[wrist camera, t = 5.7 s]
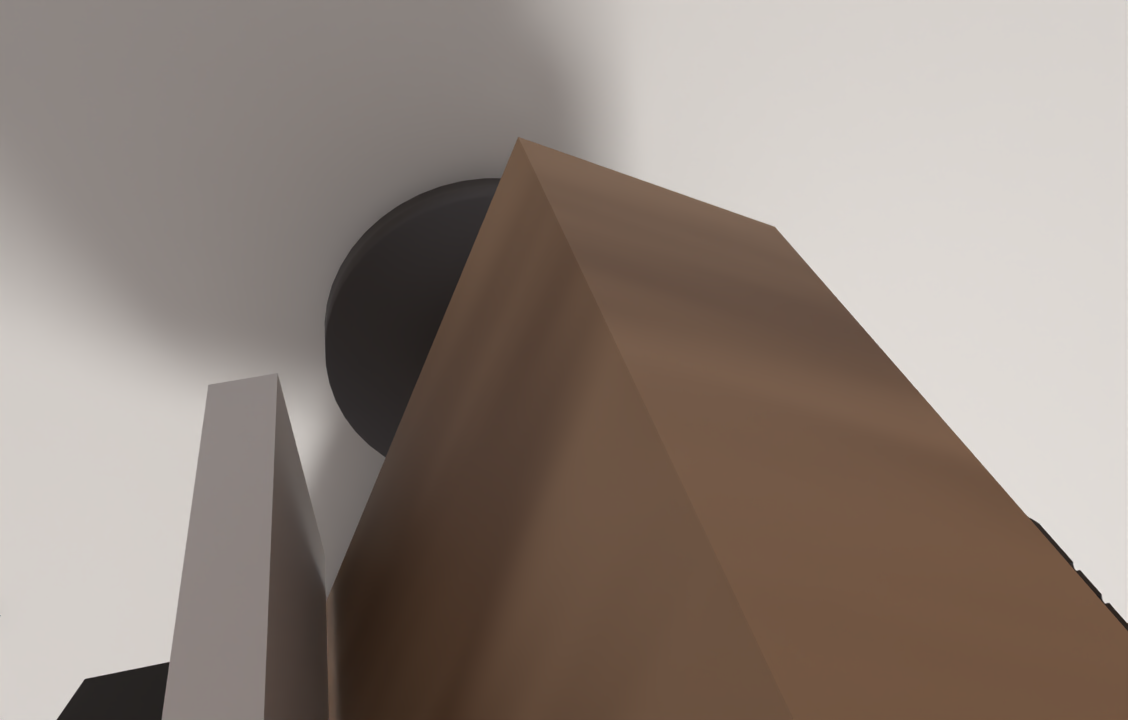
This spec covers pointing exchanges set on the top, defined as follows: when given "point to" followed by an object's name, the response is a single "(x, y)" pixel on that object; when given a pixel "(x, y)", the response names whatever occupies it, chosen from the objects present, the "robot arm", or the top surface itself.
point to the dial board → (481, 150)
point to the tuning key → (666, 483)
